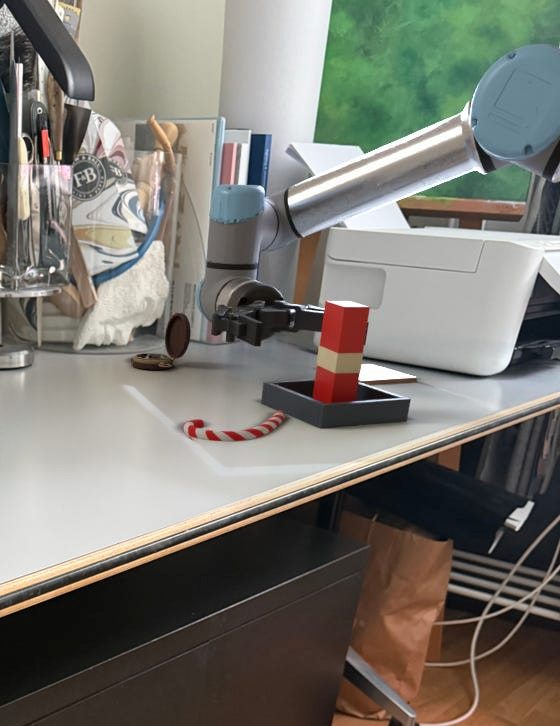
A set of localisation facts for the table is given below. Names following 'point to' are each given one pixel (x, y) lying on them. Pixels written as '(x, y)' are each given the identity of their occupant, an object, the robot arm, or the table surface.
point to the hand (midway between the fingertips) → (312, 334)
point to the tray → (335, 405)
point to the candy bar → (340, 351)
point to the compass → (167, 345)
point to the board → (382, 375)
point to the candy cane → (194, 431)
